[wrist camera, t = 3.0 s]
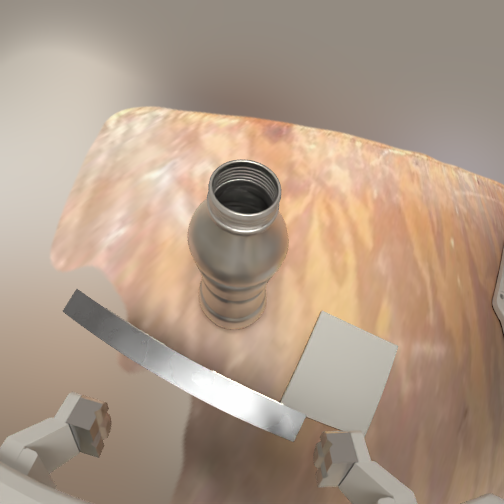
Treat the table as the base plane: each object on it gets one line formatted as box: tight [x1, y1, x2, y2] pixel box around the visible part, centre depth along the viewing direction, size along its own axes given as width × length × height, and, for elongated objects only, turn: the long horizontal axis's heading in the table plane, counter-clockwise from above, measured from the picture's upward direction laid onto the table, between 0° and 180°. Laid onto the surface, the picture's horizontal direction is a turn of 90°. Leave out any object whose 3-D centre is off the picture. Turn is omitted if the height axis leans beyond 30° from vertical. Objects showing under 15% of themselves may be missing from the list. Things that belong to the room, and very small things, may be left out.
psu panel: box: [63, 289, 307, 442], centre depth 25 cm, size 2×18×12 cm, turn 64°
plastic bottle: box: [188, 160, 289, 329], centre depth 25 cm, size 6×7×20 cm
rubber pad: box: [280, 311, 398, 437], centre depth 31 cm, size 11×10×1 cm
